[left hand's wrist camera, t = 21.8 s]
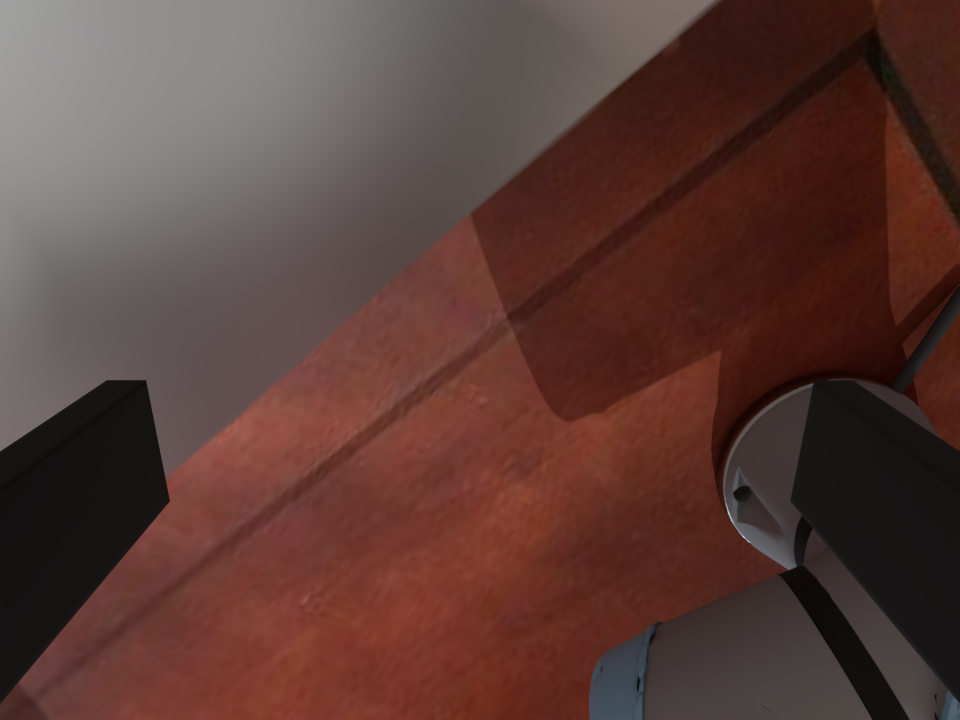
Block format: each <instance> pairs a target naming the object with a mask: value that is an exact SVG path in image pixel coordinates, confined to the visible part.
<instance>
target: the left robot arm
mask: <svg viewBox="0 0 960 720" xmlns="http://www.w3.org/2000/svg"><path fill="white" fill-rule="evenodd" d="M959 312H960V286H958V288H957V289H956V291H955V292H954V294H953V295H952V297H951V298H950V300H949V301H948V302H947V304H946V305H945V307H944V308H943V310H942V311H941V313H940V314H939V316H938V317H937V319H936V320H935V322H934V323H933V325H932V326H931V327H930V329H929V330H928V332H927V333H926V335H925V336H924V338H923V339H922V341H921V342H920V343H919V345H918V346H917V348H916V349H915V351H914V352H913V354H912V355H911V356H910V358H909V359H908V361H907V362H906V364H905V365H904V366H903V368H902V369H901V371H900V372H899V374H898V375H897V376H896V378H895V379H894V381H893V382H892V384H891V385H890V386H889V385H887V384H885V383H884V382H882V381H879V380H877V379H875V378H872V377H869V376H865V375H861V374H856V373H847V372H832V373H822V374H816V375H811V376H807V377H803V378H800V379H797V380H794V381H792V382H790V383H787V384H785V385H783V386H781V387H779V388H777V389H775V390H773V391H772V392H770V393H769V394H767V395H766V396H764V397H763V398H762V399H760V400H759V401H758V402H756V403H755V404H754V405H753V406H752V407H751V408H750V409H749V410H748V411H747V412H746V413H745V414H744V415H743V416H742V417H741V418H740V419H739V421H738V422H737V423H736V425H735V426H734V427H733V429H732V431H731V432H730V434H729V435H728V437H727V439H726V441H725V443H724V446H723V448H722V451H721V454H720V458H719V462H718V468H717V487H718V493H719V497H720V500H721V503H722V505H723V508H724V510H725V511H726V513H727V515H728V516H729V518H730V520H731V521H732V523H733V524H734V526H735V527H736V529H737V530H738V531H739V533H740V534H741V535H742V536H743V537H744V538H745V539H746V540H747V541H748V542H749V543H751V544H752V545H753V546H754V547H755V548H757V549H758V550H759V551H761V552H762V553H764V554H765V555H767V556H768V557H770V558H771V559H773V560H775V561H776V562H778V563H779V564H781V565H782V566H784V567H785V568H787V569H788V571H786V572H783V573H781V574H777V575H775V576H773V577H770V578H768V579H766V580H763V581H761V582H759V583H756V584H754V585H752V586H749V587H747V588H745V589H742V590H740V591H738V592H735V593H733V594H731V595H728V596H726V597H724V598H721V599H719V600H717V601H714V602H712V603H710V604H707V605H705V606H703V607H700V608H698V609H696V610H693V611H691V612H689V613H686V614H684V615H682V616H679V617H677V618H675V619H672V620H670V621H668V622H665V623H662V622H656V623H654V624H652V625H650V626H649V627H648V629H647V630H646V631H645V632H643V633H641V634H639V635H637V636H635V637H633V638H631V639H629V640H627V641H625V642H623V643H621V644H619V645H617V646H615V647H613V648H611V649H609V650H608V651H607V652H605V653H604V654H603V655H602V657H601V658H600V659H599V661H598V662H597V664H596V666H595V668H594V672H593V675H592V679H591V691H590V695H589V710H590V720H960V451H958V450H957V449H955V448H954V447H952V446H951V445H949V444H948V443H946V442H945V441H943V440H942V439H940V437H939V436H938V434H937V432H936V431H935V429H934V427H933V426H932V424H931V423H930V421H929V420H928V418H927V417H926V416H925V414H924V413H923V412H922V411H921V410H920V408H919V407H918V406H917V405H916V404H915V403H914V402H913V401H911V400H910V399H909V398H908V397H906V396H905V395H903V394H902V393H903V392H904V390H905V389H906V388H907V386H908V385H909V383H910V382H911V381H912V379H913V378H914V376H915V375H916V374H917V372H918V371H919V369H920V368H921V366H922V365H923V364H924V362H925V361H926V359H927V358H928V356H929V355H930V354H931V352H932V351H933V349H934V348H935V346H936V345H937V344H938V342H939V341H940V339H941V338H942V336H943V335H944V333H945V332H946V331H947V329H948V328H949V326H950V325H951V323H952V322H953V320H954V319H955V317H956V316H957V315H958V313H959ZM169 502H170V500H169V495H168V489H167V484H166V479H165V474H164V469H163V464H162V459H161V454H160V449H159V444H158V439H157V434H156V429H155V424H154V419H153V414H152V408H151V403H150V398H149V393H148V388H147V383H146V380H107V381H105V382H104V383H102V384H101V385H99V386H98V387H96V388H95V389H93V390H92V391H90V392H89V393H87V394H86V395H84V396H83V397H81V398H80V399H78V400H77V401H75V402H74V403H72V404H71V405H69V406H68V407H66V408H65V409H63V410H62V411H60V412H59V413H57V414H56V415H54V416H53V417H51V418H50V419H48V420H47V421H45V422H44V423H42V424H41V425H39V426H38V427H36V428H35V429H33V430H32V431H30V432H29V433H27V434H26V435H24V436H23V437H21V438H20V439H18V440H17V441H15V442H14V443H12V444H11V445H9V446H8V447H6V448H5V449H3V450H2V451H0V703H1V702H2V701H3V700H4V698H5V697H6V696H7V695H8V694H9V692H10V691H11V690H12V689H13V688H14V687H15V685H16V684H17V683H18V682H19V681H20V679H21V678H22V677H23V676H24V675H25V673H26V672H27V671H28V670H29V669H30V667H31V666H32V665H33V664H34V663H35V661H36V660H37V659H38V658H39V657H40V656H41V654H42V653H43V652H44V651H45V650H46V648H47V647H48V646H49V645H50V644H51V642H52V641H53V640H54V639H55V638H56V636H57V635H58V634H59V633H60V632H61V630H62V629H63V628H64V627H65V626H66V625H67V623H68V622H69V621H70V620H71V619H72V617H73V616H74V615H75V614H76V613H77V611H78V610H79V609H80V608H81V607H82V605H83V604H84V603H85V602H86V601H87V599H88V598H89V597H90V596H91V595H92V594H93V592H94V591H95V590H96V589H97V588H98V586H99V585H100V584H101V583H102V582H103V580H104V579H105V578H106V577H107V576H108V574H109V573H110V572H111V571H112V570H113V568H114V567H115V566H116V565H117V564H118V562H119V561H120V560H121V559H122V558H123V557H124V555H125V554H126V553H127V552H128V551H129V549H130V548H131V547H132V546H133V545H134V543H135V542H136V541H137V540H138V539H139V537H140V536H141V535H142V534H143V533H144V531H145V530H146V529H147V528H148V527H149V526H150V524H151V523H152V522H153V521H154V520H155V518H156V517H157V516H158V515H159V514H160V512H161V511H162V510H163V509H164V508H165V506H166V505H167V504H168V503H169Z"/></svg>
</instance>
